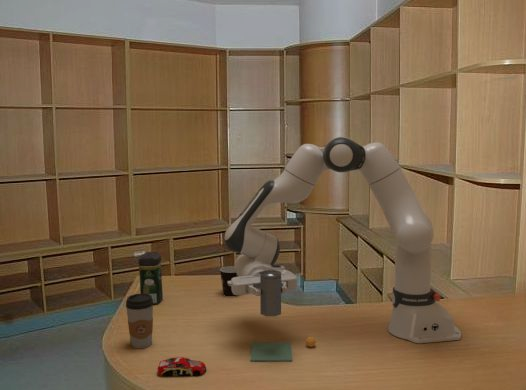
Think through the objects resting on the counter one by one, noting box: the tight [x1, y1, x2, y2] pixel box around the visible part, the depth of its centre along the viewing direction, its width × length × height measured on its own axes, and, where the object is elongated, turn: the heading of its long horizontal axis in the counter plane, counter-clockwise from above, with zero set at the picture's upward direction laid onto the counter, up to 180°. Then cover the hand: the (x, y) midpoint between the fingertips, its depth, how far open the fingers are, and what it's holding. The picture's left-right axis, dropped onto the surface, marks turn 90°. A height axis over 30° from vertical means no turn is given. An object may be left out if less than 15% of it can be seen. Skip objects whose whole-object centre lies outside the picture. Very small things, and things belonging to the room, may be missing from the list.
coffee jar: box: [138, 251, 164, 305], centre depth 205 cm, size 10×8×19 cm
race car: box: [157, 356, 207, 378], centre depth 150 cm, size 13×5×4 cm, turn 91°
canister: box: [260, 270, 282, 317], centre depth 159 cm, size 6×6×12 cm
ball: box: [305, 336, 317, 348], centre depth 166 cm, size 3×3×3 cm
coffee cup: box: [125, 293, 155, 349], centre depth 167 cm, size 8×8×15 cm
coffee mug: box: [219, 265, 238, 297], centre depth 214 cm, size 12×9×10 cm
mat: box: [249, 341, 293, 363], centre depth 162 cm, size 12×12×1 cm
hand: (271, 291), depth 158 cm, fingers closed on canister, 6 cm apart
